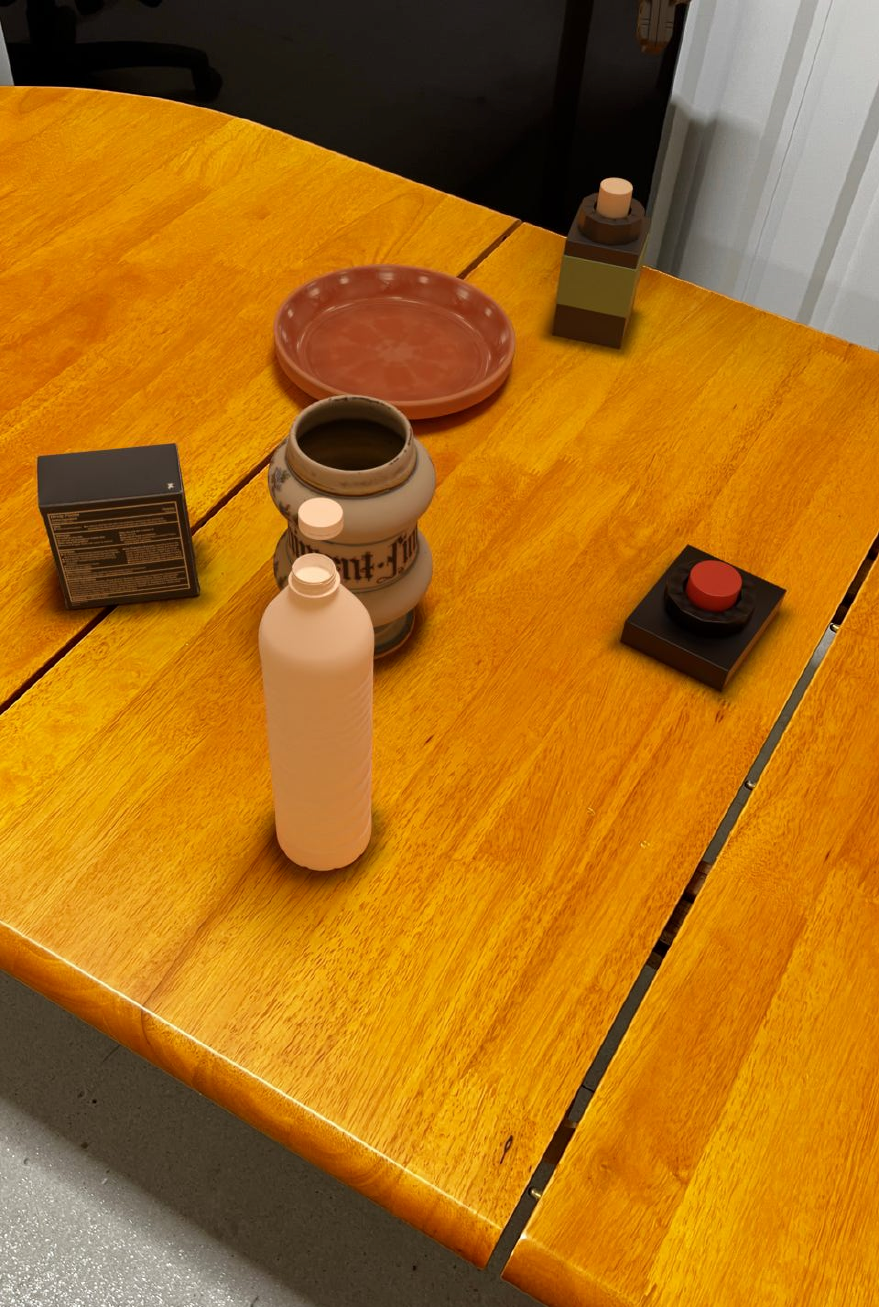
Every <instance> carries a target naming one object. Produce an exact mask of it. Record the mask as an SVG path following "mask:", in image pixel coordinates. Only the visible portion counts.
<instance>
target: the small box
mask: <svg viewBox="0 0 879 1307" xmlns="http://www.w3.org/2000/svg"><path fill="white" fill-rule="evenodd" d="M36 481H37V482H36V486H37V490H36V491H37V507H38V510H39V513H40V516H41V517H42V521H43V525H44V527H45V531H46V535H47V538H48V544H49V547H50V550H51V551H50V552H51V554H52V557H53V561H54V565H55V568H56V572H57V575H58V580H59V583H60V586H61V589H62V593H63V598H64V606H65V608H66V609H67V610H77V609H87V608H88V609H89V608H95V607H105V606H112V605H113V606H114V605H121V604H131V603H141V602H148V601H150V602H151V601H158V600H166V599H174V598H184V597H192V596H193V597H194V596H198V595H199V594H200V592H201V586H200V582H199V578H198V575H199V574H198V571H197V562H196V558H197V557H196V553H195V552H196V551H195V548H194V547H195V546H194V542H193V537H192V536H193V535H192V528H191V523H190V517H189V511H188V504H187V498H186V492H185V486H184V485H185V484H184V479H183V473H182V467H181V462H180V455H179V447H178V444H177V443H176V442H171V443H160V444H152V445H151V444H150V445H139V446H130V447H129V446H128V447H120V448H110V449H97V450H88V451H78V452H66V453H56V454H44V455H38V456H37V458H36Z"/></svg>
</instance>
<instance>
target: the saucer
mask: <svg viewBox="0 0 879 1307" xmlns="http://www.w3.org/2000/svg"><path fill="white" fill-rule="evenodd" d="M272 328H273V329H272V332H273V333H272V334H273V344H274V352H275V356H276V358H277V362H278V364H279V365H280V368H281V369H282V370H283V372H284V374H285V375H286V377H287V378H288V379H290V381H291V382H292V383H293V384H294V385H295V386H296V387H298V388H299V389H300V390H301V391H303V392H304V393H306V394H307V395H309V396H310V397H312V398H314V399H315V400H317V401H321V400H324V399H326V398H330V397H335V396H341V395H361V396H368V397H372V398H376V399H379V400H382V401H385V402H387V403H389V404H391V405H392V406H394V407H395V408H397V409H398V410H399V411H401V412H402V413H403V414H404V415H405V416H406V418H407V419H408V420H423V419H430V418H431V419H433V418H437V417H442V416H447V415H451V414H455V413H457V412H461V411H463V410H467V409H468V408H471V407H472V406H474V405H477V404H479V403H481V402H482V401H484V400H486V399H488V398H489V397H490V396H491V395H493V393H495V392H496V391H497V390H498V389H499V388H500V387H501V386H502V385H503V383H504V382H505V381H506V380H507V377H508V376H509V374H510V371H511V369H512V366H513V363H514V362H513V361H514V357H515V352H516V342H517V341H516V332H515V329H514V325H513V323H512V321H511V319H510V317H509V315H508V314H507V312H506V310H504V309H503V307H502V306H501V305H500V304H499V303H498V302H497V301H496V300H495V299H494V298H493V297H492V296H490V295H489V294H487V293H486V292H484V291H483V290H482V289H480V288H479V287H477V286H476V285H474V284H472V283H470V282H468V281H466V280H464V279H462V278H459V277H457V276H454V275H453V274H449V273H446V272H442V271H439V270H435V269H430V268H426V267H422V266H416V265H409V264H397V263H375V264H373V263H372V264H363V265H354V266H349V267H344V268H339V269H336V270H333V271H329V272H325V273H324V274H321V275H319V276H316V277H314V278H311V279H309V280H308V281H306V282H304V283H302V284H301V285H299V286H298V287H297V288H295V289H294V290H293V291H292V292H290V294H288V295H287V296H286V298H284V300H283V301H282V303H281V304H280V306H279V307H278V309H277V311H276V314H275V316H274V320H273V327H272Z"/></svg>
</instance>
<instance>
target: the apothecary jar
mask: <svg viewBox="0 0 879 1307" xmlns="http://www.w3.org/2000/svg"><path fill="white" fill-rule="evenodd" d="M409 420H410V419H409ZM409 420H408V419H407V418H406V416H405V415H404V414H403V413H402V412H401V411H399V410H398V409H397V408H395V407H394V406H392V405H391V404H389V403H387V402H385V401H382V400H379V399H376V398H372V397H368V396H361V395H341V396H335V397H330V398H326V399H324V400H321V401H319V400H317V401H315V402H314V403H312V404H310V405H309V406H307V407H305V408H304V409H303V410H301V411H300V413H298V414H297V415H296V417H295V418H294V419H293V421H292V424H291V426H290V429H289V432H288V433H289V434H288V435H286V437H285V438H284V439H283V440H282V441H281V442H280V443H279V444H278V446H277V447H276V449H275V451H273V452H274V453H273V454H272V455H271V459H270V461H269V465H268V468H267V469H268V470H267V487H268V491H269V492H268V493H269V495H270V498H271V501H272V502H273V504H274V506H275V508H276V509H277V510H278V512H279V513H280V514H281V516H283V518H284V519H285V520H287V528H286V529H285V530H284V531H283V533H282V534H281V535H280V538H278V541H277V544H276V546H275V549H274V552H273V559H272V569H273V575H274V579H275V583H276V585H277V587H278V589H279V591H280V592H281V591H282V590H283V589H284V588H285V587H287V586H288V585H289V582H288V578H289V575H290V573H291V571H292V569H293V568H292V566H293V564H294V562H295V561H296V560H297V559H298V558H299V557H301V556H303V555H306V554H312V553H316V554H322V555H325V556H327V557H328V558H330V559H331V560H332V561H333V563H334V564H335V567H336V570H337V572H338V573H339V576H340V584H342V585H343V586H344V587H345V588H346V589H347V590H349V591H350V592H351V593H352V594H353V595H354V596H356V597H357V598H358V599H359V600H360V602H361V603H362V604H363V605H364V607H365V608H366V609H367V611H368V613H369V615H370V619H371V622H372V625H373V630H374V654H373V661H374V660H377V659H382V658H384V657H386V656H388V655H390V654H392V653H394V652H396V651H397V650H398V649H399V648H401V647H402V646H403V645H404V644H405V643H406V642H407V641H408V639H409V638H410V636H411V634H412V632H413V630H414V626H415V621H416V619H415V618H416V613H415V607H416V606H417V605H418V604H419V603H420V602H421V601H422V600H423V598H424V596H425V595H426V593H427V592H428V589H429V587H430V585H431V582H432V578H433V572H434V560H433V554H432V551H431V547H430V544H429V543H428V541H427V539H426V537H425V535H424V534H423V533H422V532H421V530H420V529H419V528H418V527H419V526H418V523H419V522H418V520H419V519H421V517H423V515H424V514H425V513H426V512H427V510H428V509H429V507H430V505H431V504H432V503H433V502H432V501H433V499H434V497H435V493H436V489H437V488H436V487H437V473H436V469H435V468H436V467H435V465H434V462H433V459H432V456H431V455H430V453H429V451H428V449H427V448H426V447H425V446H424V445H423V443H422V442H421V441H420V440H419V439H418V438H417V437H416V436H415V435H414V432H413V427H412V425H411V422H410V421H409ZM314 498H327V499H331V500H333V501H335V502H337V503H338V504H339V505H340V506H341V508H342V510H343V529H342V531H341V532H340V533H339V534H338V535H337V536H335V537H333V538H331V539H327V540H315V539H311V538H309V537H307V536H305V535H304V534H303V533H302V532H301V531H300V529H299V523H298V510H299V508H300V506H301V505H302V504H303V503H304V502H306V501H308V500H310V499H314ZM308 534H309V533H308ZM311 535H312V534H311ZM330 535H331V534H330ZM316 536H317V535H316ZM325 536H327V535H325Z"/></svg>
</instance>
